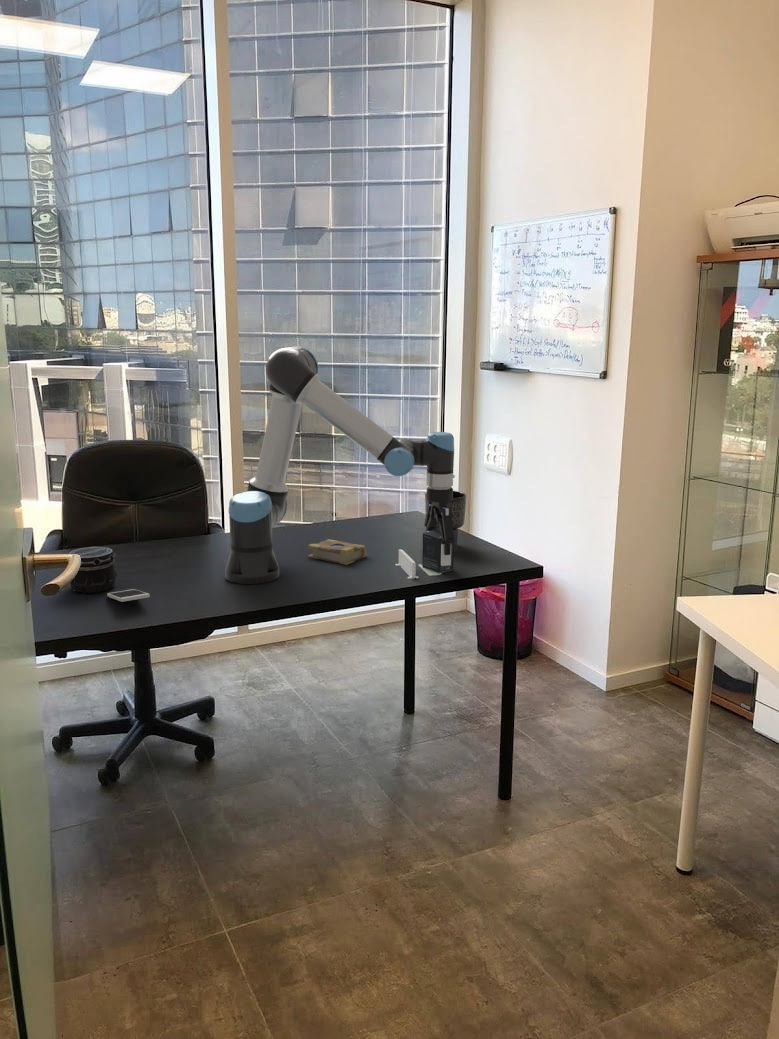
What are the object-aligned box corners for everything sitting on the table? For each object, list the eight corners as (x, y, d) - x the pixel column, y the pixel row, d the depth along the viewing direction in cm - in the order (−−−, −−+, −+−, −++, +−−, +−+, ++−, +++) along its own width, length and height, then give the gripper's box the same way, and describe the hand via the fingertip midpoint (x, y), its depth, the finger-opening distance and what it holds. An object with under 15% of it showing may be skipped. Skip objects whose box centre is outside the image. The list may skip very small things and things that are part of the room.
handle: (408, 580, 242) (408, 563, 241) (395, 565, 255) (395, 549, 254) (418, 579, 243) (419, 562, 242) (405, 565, 256) (405, 549, 255)
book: (307, 558, 263) (307, 543, 262) (329, 550, 272) (329, 535, 271) (346, 566, 256) (346, 550, 254) (367, 557, 265) (367, 542, 263)
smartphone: (121, 602, 214) (121, 598, 214) (106, 596, 227) (106, 592, 227) (150, 597, 217) (149, 593, 217) (134, 592, 231) (133, 588, 231)
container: (83, 578, 242) (80, 544, 239) (126, 581, 240) (123, 546, 237) (58, 592, 230) (55, 557, 227) (103, 595, 228) (101, 559, 225)
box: (453, 570, 250) (454, 534, 248) (438, 573, 247) (439, 537, 244) (436, 563, 256) (436, 529, 254) (421, 567, 253) (422, 532, 250)
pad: (429, 576, 245) (429, 575, 245) (417, 565, 255) (417, 564, 255) (459, 574, 247) (459, 573, 247) (446, 563, 258) (446, 562, 258)
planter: (425, 554, 267) (426, 498, 263) (422, 543, 279) (423, 490, 275) (467, 554, 267) (468, 498, 263) (462, 543, 280) (463, 489, 276)
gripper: (467, 495, 235) (465, 570, 240) (438, 478, 258) (437, 546, 263) (441, 496, 233) (439, 571, 238) (414, 479, 256) (413, 547, 261)
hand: (438, 558), depth 251 cm, fingers open, 13 cm apart
